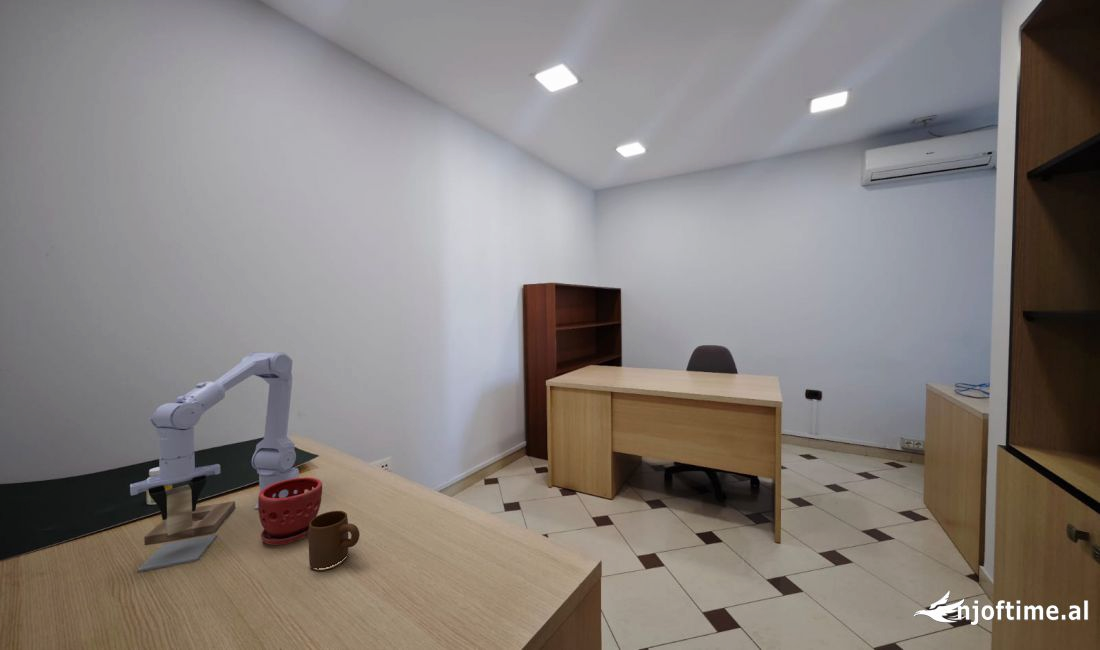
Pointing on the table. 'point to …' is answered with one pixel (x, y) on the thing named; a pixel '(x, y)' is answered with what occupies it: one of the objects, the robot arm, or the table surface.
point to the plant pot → (288, 509)
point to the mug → (330, 538)
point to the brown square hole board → (194, 523)
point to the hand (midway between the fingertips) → (178, 514)
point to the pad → (178, 553)
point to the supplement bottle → (153, 473)
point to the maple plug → (178, 509)
